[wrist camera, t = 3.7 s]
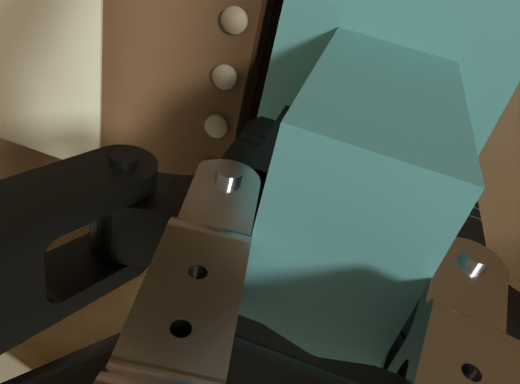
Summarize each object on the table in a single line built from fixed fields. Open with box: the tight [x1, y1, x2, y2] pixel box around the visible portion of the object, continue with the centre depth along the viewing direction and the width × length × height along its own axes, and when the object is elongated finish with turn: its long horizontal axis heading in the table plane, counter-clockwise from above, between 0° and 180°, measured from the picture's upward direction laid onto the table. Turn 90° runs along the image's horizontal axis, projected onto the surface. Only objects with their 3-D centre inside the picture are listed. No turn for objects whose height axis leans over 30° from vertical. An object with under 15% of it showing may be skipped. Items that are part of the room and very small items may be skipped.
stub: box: [238, 0, 520, 367], centre depth 12 cm, size 6×13×8 cm, turn 168°
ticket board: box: [0, 0, 275, 180], centre depth 15 cm, size 12×13×2 cm
